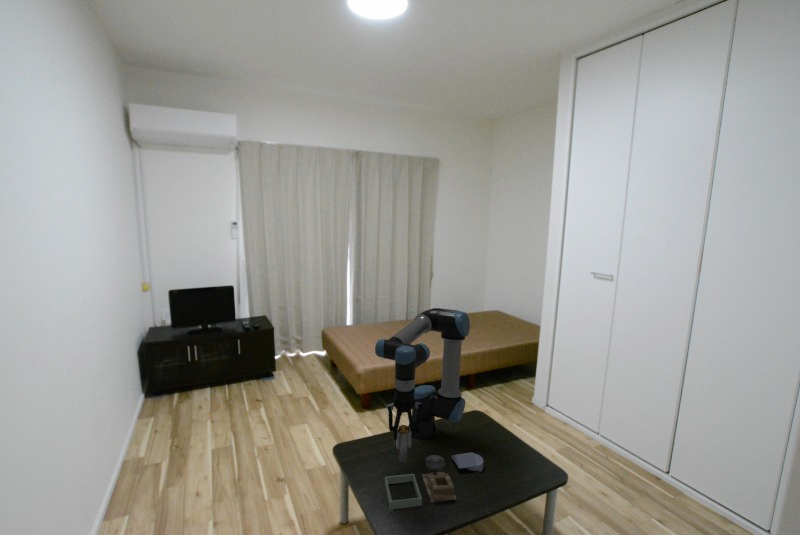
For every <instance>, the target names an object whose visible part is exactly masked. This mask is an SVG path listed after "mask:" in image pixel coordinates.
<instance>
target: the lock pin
mask: <svg viewBox="0 0 800 535" xmlns="http://www.w3.org/2000/svg"><path fill="white" fill-rule="evenodd" d="M398 430H399V449H398V450H399V456H398V461H399V462H400V463H404V464H405V463H407V461H408V432H409V427H408V425H406V424H402V425H399V427H398Z"/></svg>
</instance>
